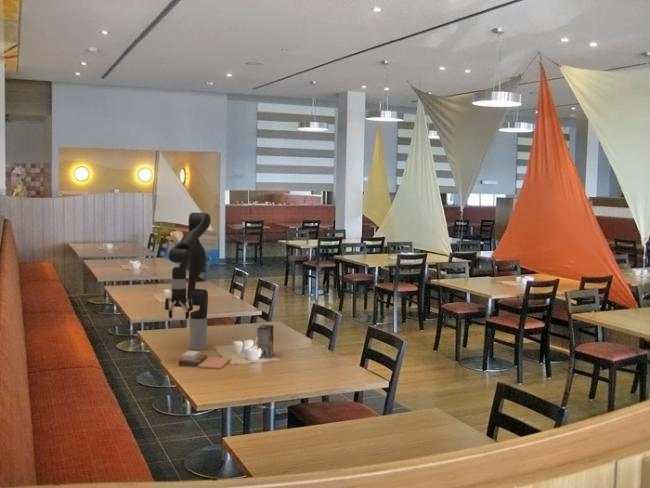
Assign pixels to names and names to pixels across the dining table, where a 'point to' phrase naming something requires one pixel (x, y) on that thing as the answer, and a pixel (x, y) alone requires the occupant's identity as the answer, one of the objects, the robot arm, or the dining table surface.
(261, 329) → the coffee box
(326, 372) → the dining table surface
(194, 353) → the cream tile
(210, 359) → the terracotta mat
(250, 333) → the dining table surface
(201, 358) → the walnut deck
